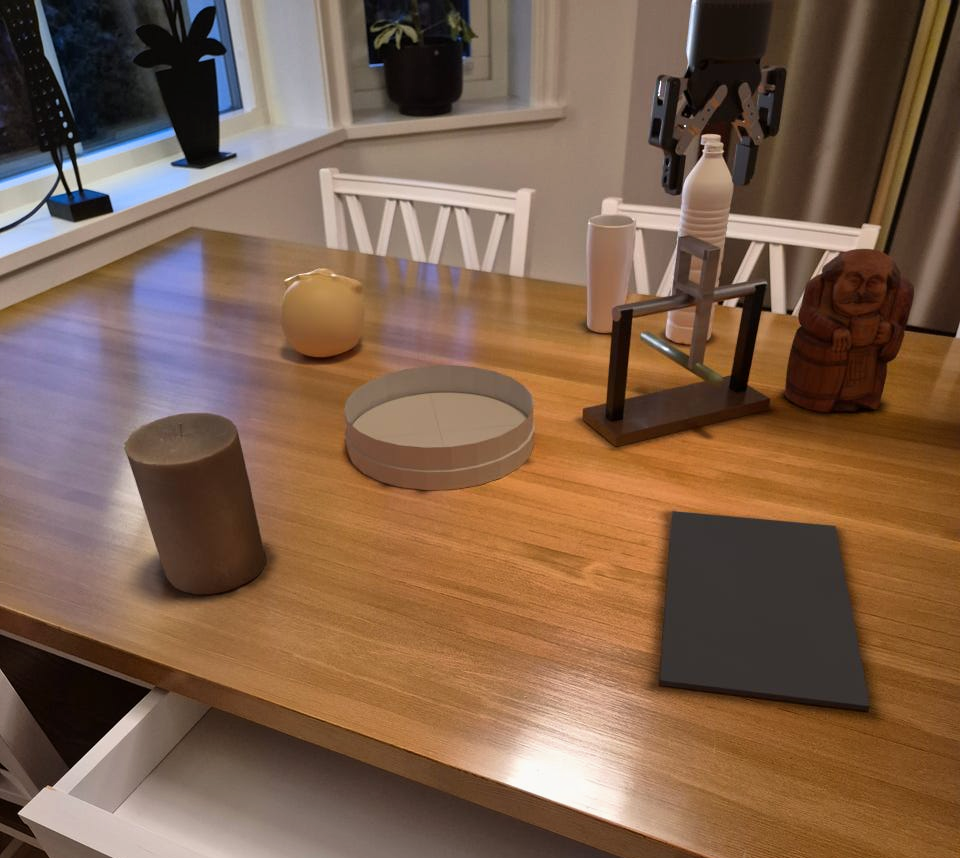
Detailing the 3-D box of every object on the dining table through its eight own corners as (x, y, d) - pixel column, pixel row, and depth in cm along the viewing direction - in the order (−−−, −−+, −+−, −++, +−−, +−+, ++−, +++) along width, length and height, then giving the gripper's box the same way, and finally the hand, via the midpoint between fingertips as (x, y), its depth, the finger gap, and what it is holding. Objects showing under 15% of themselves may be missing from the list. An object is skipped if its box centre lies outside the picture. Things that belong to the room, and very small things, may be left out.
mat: (671, 515, 89) (672, 510, 88) (834, 530, 86) (835, 525, 86) (658, 685, 69) (659, 680, 69) (868, 711, 67) (870, 706, 66)
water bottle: (712, 345, 123) (743, 147, 107) (666, 344, 124) (690, 147, 108) (707, 323, 130) (735, 133, 113) (663, 322, 130) (685, 134, 114)
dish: (351, 499, 92) (345, 457, 89) (343, 410, 109) (338, 372, 106) (553, 479, 95) (554, 438, 92) (515, 395, 111) (515, 358, 108)
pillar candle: (282, 543, 86) (253, 402, 76) (240, 602, 79) (203, 454, 69) (193, 533, 88) (154, 394, 78) (144, 589, 81) (95, 443, 71)
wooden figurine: (789, 412, 106) (823, 259, 95) (778, 391, 111) (810, 242, 99) (887, 413, 105) (934, 259, 94) (872, 391, 110) (915, 242, 99)
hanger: (725, 387, 97) (747, 259, 89) (713, 390, 97) (734, 261, 88) (648, 339, 109) (660, 222, 100) (637, 341, 108) (649, 223, 99)
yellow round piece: (376, 335, 129) (368, 259, 122) (353, 367, 120) (343, 287, 113) (303, 332, 130) (291, 257, 123) (275, 363, 121) (260, 284, 114)
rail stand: (768, 409, 107) (794, 287, 97) (616, 447, 100) (627, 319, 91) (729, 385, 113) (749, 267, 103) (582, 419, 106) (589, 296, 96)
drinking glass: (576, 333, 128) (581, 224, 118) (588, 317, 132) (595, 212, 123) (620, 338, 126) (630, 228, 116) (632, 322, 130) (642, 215, 121)
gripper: (692, 3, 75) (669, 206, 85) (822, -6, 79) (785, 189, 90) (645, -2, 80) (629, 190, 91) (769, -10, 84) (740, 174, 95)
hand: (706, 189), depth 90 cm, fingers open, 8 cm apart
